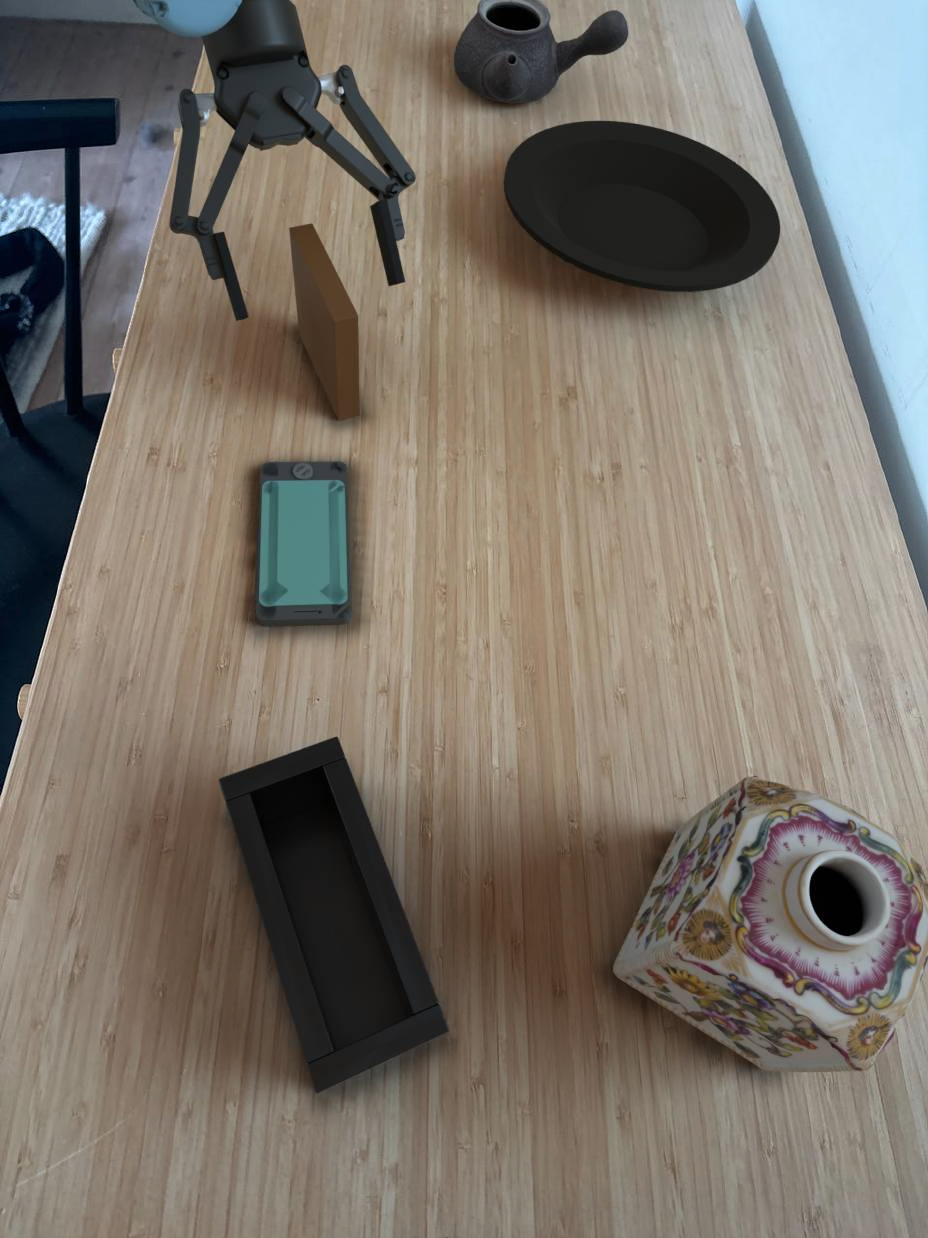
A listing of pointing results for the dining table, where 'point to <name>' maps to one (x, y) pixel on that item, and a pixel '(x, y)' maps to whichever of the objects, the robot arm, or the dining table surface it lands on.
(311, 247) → the thin brown wooden plank
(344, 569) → the smartphone
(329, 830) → the black open box
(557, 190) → the plate
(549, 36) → the teapot
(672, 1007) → the decorative jar
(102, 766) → the dining table surface
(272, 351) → the dining table surface
